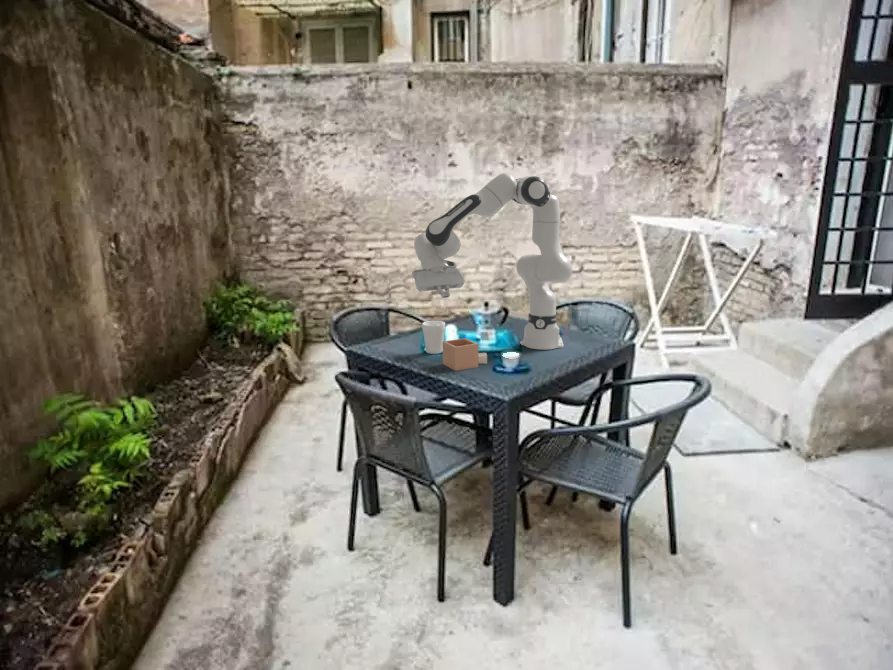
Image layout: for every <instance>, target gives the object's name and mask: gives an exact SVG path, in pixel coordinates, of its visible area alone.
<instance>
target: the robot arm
mask: <svg viewBox="0 0 893 670" xmlns="http://www.w3.org/2000/svg"><path fill="white" fill-rule="evenodd" d="M511 200H512V201H514V202H515V203H517V204H520V205H527V206H528V205H529V206H530V207H531V209H532V230H531V231H532V232H531V239H532V242H533V244H535V245H536V246H537V247H538V248H539V250H540V254H535V253H534V254H525V255H522V256H520V258H519V259H518V260H517V263H516V273H517V275H518V276H519V277H520V278H521V280H523V282H524V284H525V285H526V289H527V291H528V296H529V297H528V298H529V313H528V316H527V318H528V320H527V321H528V323H526V325H525V326H524V334H523V340H521V341H519V345H520V344H521V346H524V347H526V348H529V349H531V350H533V349H534V350H541V351H542V350H546V351H547V350H554V349H560V348H561V349H562V348H564V343H563V339H562V336H561V335H560V327H559V326H558V324H557V321H558V320H557V319H558V318H557V315H558V314H557V312H556V311H557V296H556V294H555V293H554V292H553V291H552V290H551V289H550V287H549V285H548V283H550V284H561V283H567V282H568V281H569V280H570V278H571V277H572V274H573V265H572V262H571V261H570V260H569V259H568V258H567V257H566V256H565V253H564V252H563V249H562V246H561V242H560V226H561V225H560V224H561V222H560V221H561V209H560V201H559V198H558V197H557V196H556V195H554V194H551V192H550V190H549V187H548V185H547V183H546V181H545V180H544V179H543V178H541V177H539V176H538V175H537V176H535V175H533V176H532V175H528V176H523V177H519V178H515V177H514V176H513V175H511V174H510V173H507V172H502V173H499V174H498V175H496V176H495V177H494V178H492V179H491V180H489V182H488V183H487V184H485V185H484V186H483V187H482V188H481V189H480V190H479V191H477V192H475V193H474V194H473V193H472V194H470V195H468V196H466V197H465V198H463V199H462V200H460V202H458V203H457V204H456V205H455V206H453V207H452V208H451V209H449V210H448V211H446V213H444V214H443V215H441V216H439V217H438V218H435V219H434V220H432V221H431V222H429V224H428V225H427V227H426V229H425V232H421V233H420V234H418V235H417V237H415V239H414V242H413V245H414V250H415V253H416V256H417V259H418V261H420V265H421V268H422V269H415V270H413V271H412V273H411V276H412V278H413V279H414V283H415V287H416V290H417V291H418V292H428V291H435V292H436V293H438V294H439V295H440V297H441V298H442V299H444V298H447V299H448V298H449V297H450V296H451V293H450V290H451V289H459V288H463V286H464V285H465V282H466V281H465V278H464V276H463V274H462V272H461V270H460V269H459V268H458V267H457V266H458V264H457V263H456V262H455V261H450V260H447V259H448V258H449V257H452V256H454V255H456V254H457V253H458V252H459V250H460V248H461V240H460V238H459V237H458V235H457V234H456V233H455V232H454V228H455V227H456V226H457V225H459V224H460V223H461V222H462V221H464V220H465V219H466V218H468V216H471V215H478V216H480V217H485V218H489V217H493V216H494V215H496V214H497V213H499V211H500V210H502V209H503V208H504V206H505V205H507V203H509V202H510V201H511ZM443 290H444V291H443Z"/></svg>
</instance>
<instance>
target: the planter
mask: <svg viewBox="0 0 893 670" xmlns="http://www.w3.org/2000/svg"><path fill="white" fill-rule="evenodd" d="M478 353H479V343H478V342H475V341H473V340H470V339H468V338H466V337H464V338H457V339H450V340H443V348H442V365H444V366H446V367H447V368H450V369H451V370H453V371H454V372H458V371H463V370H469V369H474V368H475V369H476V368H479V364H478Z"/></svg>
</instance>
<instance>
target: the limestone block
mask: <svg viewBox="0 0 893 670" xmlns="http://www.w3.org/2000/svg"><path fill="white" fill-rule="evenodd" d="M481 364H482V365H483V364H485V365H486V364H487V365H488V354H487V352H478V365H481Z"/></svg>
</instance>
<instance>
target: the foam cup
mask: <svg viewBox="0 0 893 670" xmlns="http://www.w3.org/2000/svg"><path fill="white" fill-rule="evenodd" d="M421 326H422V328H421V330H422V333H423V338H424V339H423V340H424V345H425V346H424V347H425V352H426V354H431V355H432V354H433V355H435V354H440V353H443V341H444V337H445V336H444V335H445V331H446V322H445V321H441V320H428V321H424V322H422V324H421Z"/></svg>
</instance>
